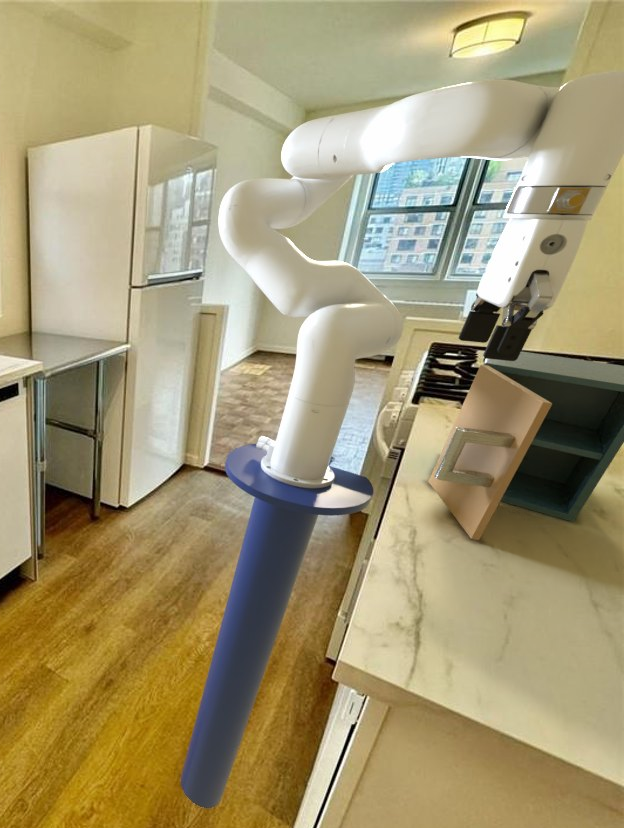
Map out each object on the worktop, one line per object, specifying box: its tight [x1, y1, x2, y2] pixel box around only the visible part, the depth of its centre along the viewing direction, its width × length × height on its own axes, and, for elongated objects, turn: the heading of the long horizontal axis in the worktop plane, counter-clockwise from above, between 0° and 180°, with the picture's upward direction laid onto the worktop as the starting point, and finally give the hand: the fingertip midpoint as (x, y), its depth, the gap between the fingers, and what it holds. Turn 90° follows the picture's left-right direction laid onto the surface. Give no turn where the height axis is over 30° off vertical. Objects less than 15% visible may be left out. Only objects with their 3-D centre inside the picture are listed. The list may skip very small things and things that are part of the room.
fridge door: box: [428, 364, 552, 541], centre depth 75 cm, size 7×18×22 cm, turn 160°
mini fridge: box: [482, 351, 624, 523], centre depth 81 cm, size 14×18×22 cm
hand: (484, 349), depth 64 cm, fingers open, 9 cm apart
